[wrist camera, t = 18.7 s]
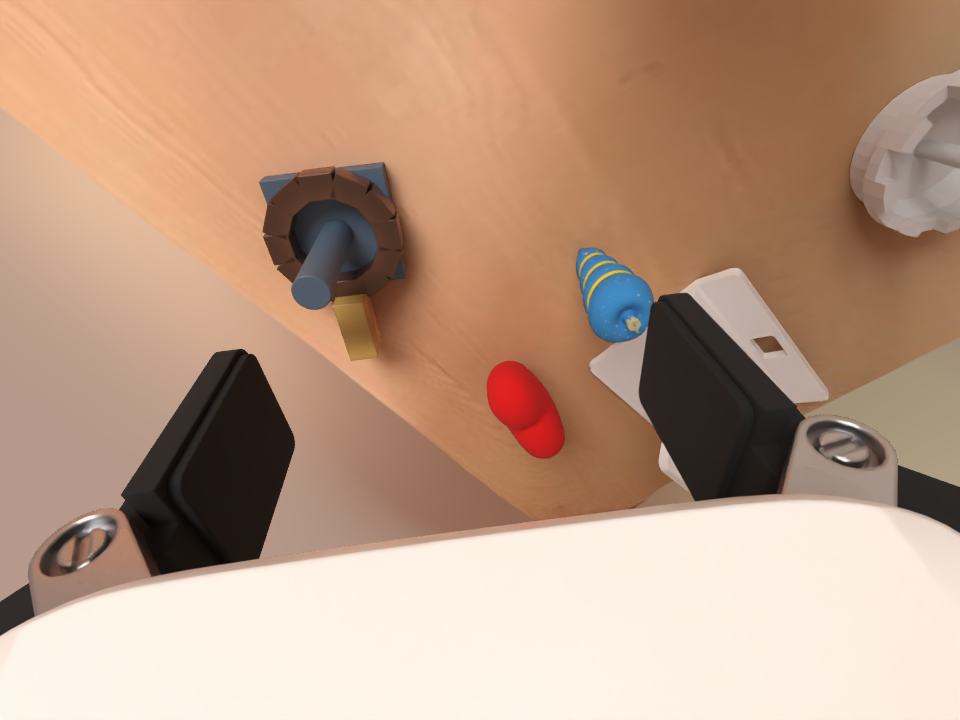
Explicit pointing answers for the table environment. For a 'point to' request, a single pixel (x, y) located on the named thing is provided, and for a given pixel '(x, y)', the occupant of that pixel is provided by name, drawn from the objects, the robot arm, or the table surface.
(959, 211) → the flag stand
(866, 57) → the table surface
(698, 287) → the tablet stand
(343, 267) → the peg rack
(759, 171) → the table surface
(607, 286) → the ornament
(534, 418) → the heart
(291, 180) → the walnut ring
